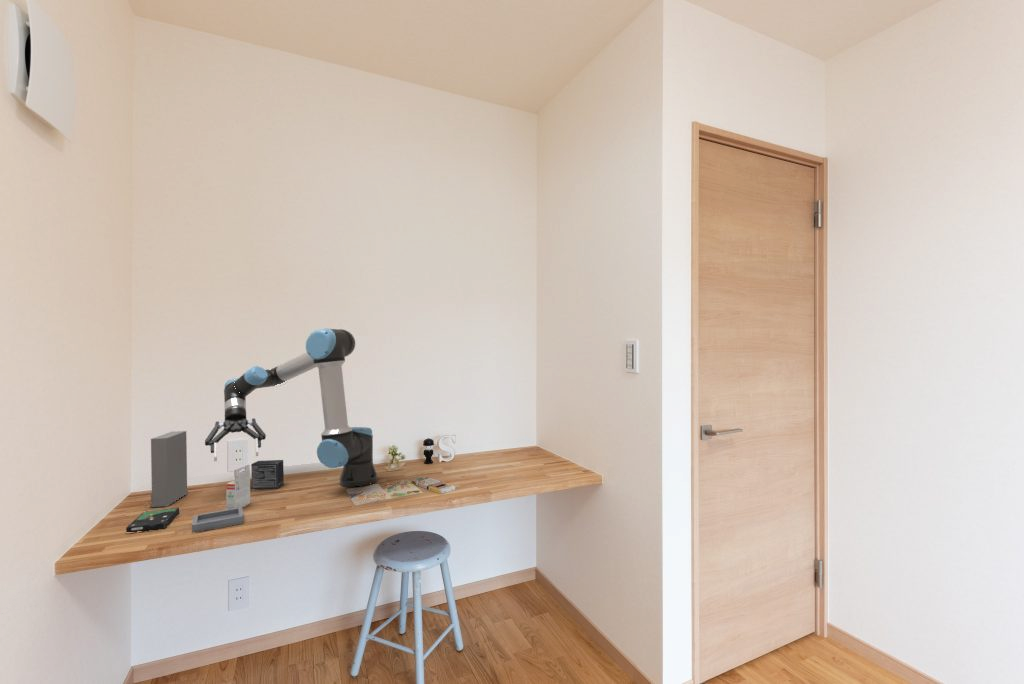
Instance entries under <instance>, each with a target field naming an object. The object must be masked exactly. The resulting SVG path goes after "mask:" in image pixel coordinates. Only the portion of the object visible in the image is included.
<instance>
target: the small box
mask: <svg viewBox="0 0 1024 684" xmlns="http://www.w3.org/2000/svg"><path fill="white" fill-rule="evenodd" d="M250 469H251V490H252V489H258V490H274V489H275V490H277V489H279V488H281V487H282V486H283V485H285V482H284V479H285V477H284V476H285V474H284V459H273V460H269V459H267V460H257V461H255V462H253V463H251V466H250ZM280 486H281V487H280Z"/></svg>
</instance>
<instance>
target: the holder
mask: <svg viewBox="0 0 1024 684" xmlns="http://www.w3.org/2000/svg"><path fill="white" fill-rule="evenodd" d="M237 524H238V525H243V524H244V511H243V508H242V507H238V508H233V509H227V510H226V509H222V510H215V511H211V512H204V513H199V514H194V515H193V517H192V524H191V530H192V531H191V533H192V534H194V533H193V532H196V533H200V532H199V531H201V532H205V530H207V531H211V529H212V530H216V529H221V528H226V527H227V526H228V527H231V526H232V525H233V526H237ZM233 526H232V527H233Z"/></svg>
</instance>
